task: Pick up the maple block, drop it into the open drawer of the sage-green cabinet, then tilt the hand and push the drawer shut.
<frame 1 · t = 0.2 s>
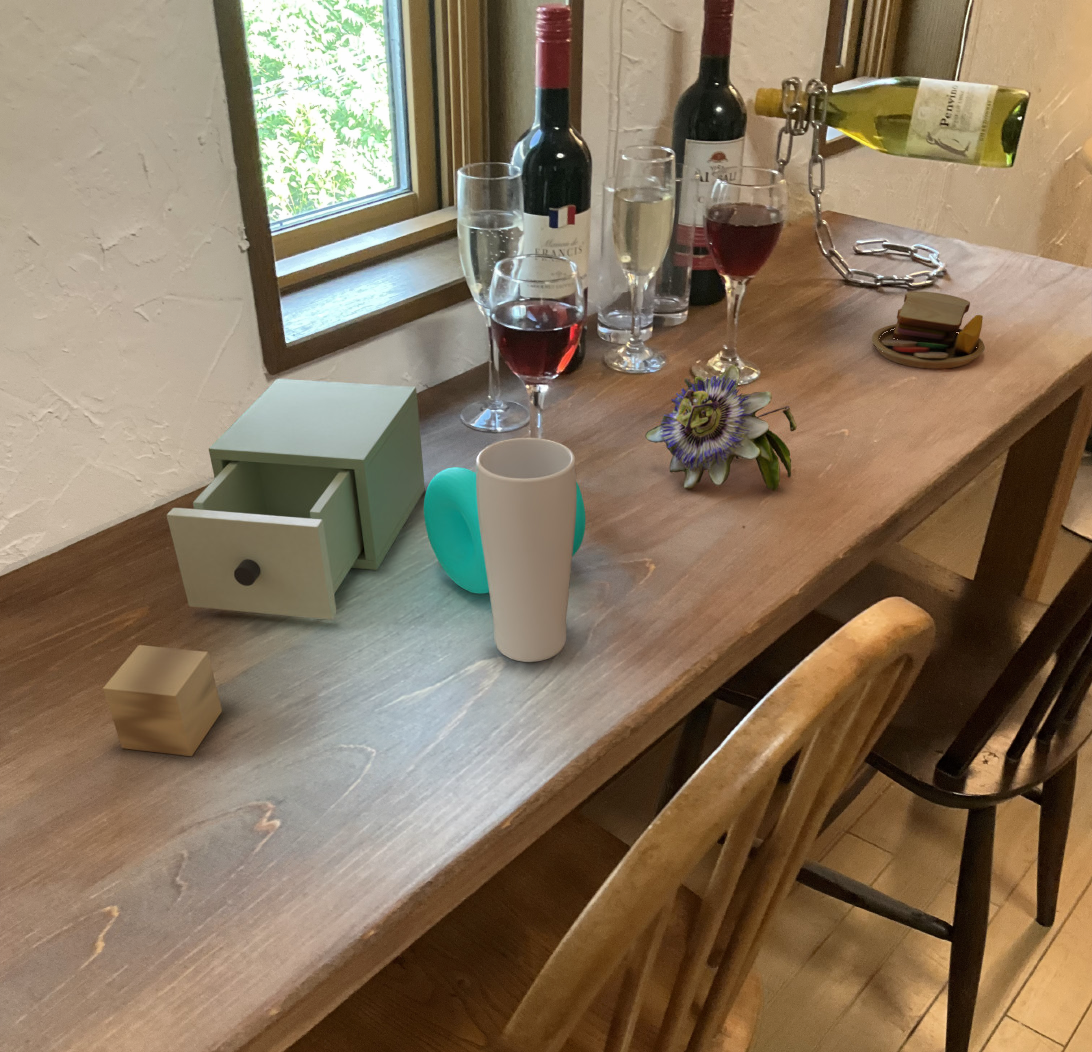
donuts: (506, 574, 92), on the table
block: (173, 729, 77), on the table
drawer: (280, 528, 89), point 5 cm above the table, slide at 8.0 cm
toy sandwich meal: (922, 351, 131), on the table
passion flower: (719, 475, 106), on the table
drinking glass: (530, 647, 84), on the table
cabinet: (332, 522, 100), on the table
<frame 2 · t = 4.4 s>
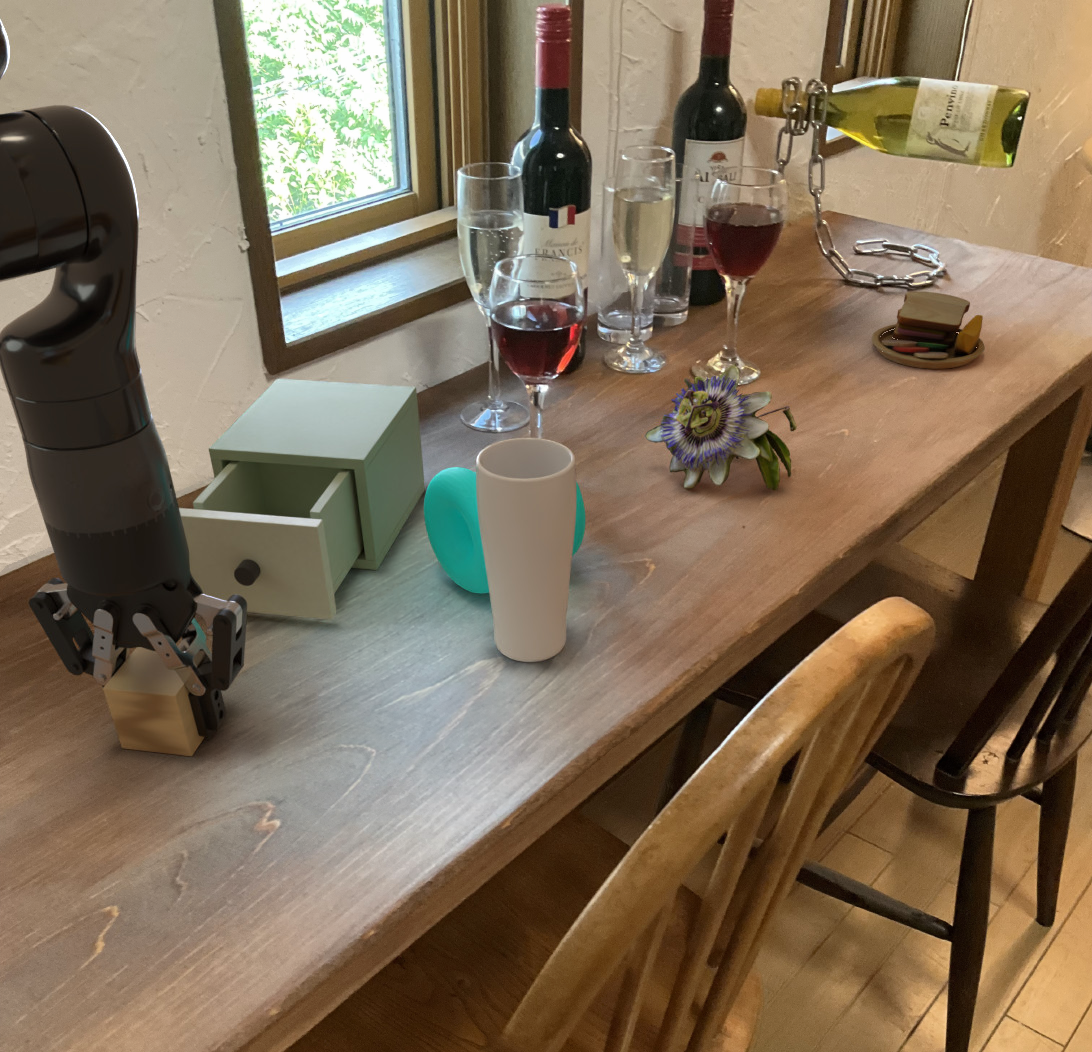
hand: (171, 724, 76), 0 cm above the table, tool pointing down, fingers closed on block, 5 cm apart
block: (173, 729, 77), on the table, touching gripper
everything else where it was.
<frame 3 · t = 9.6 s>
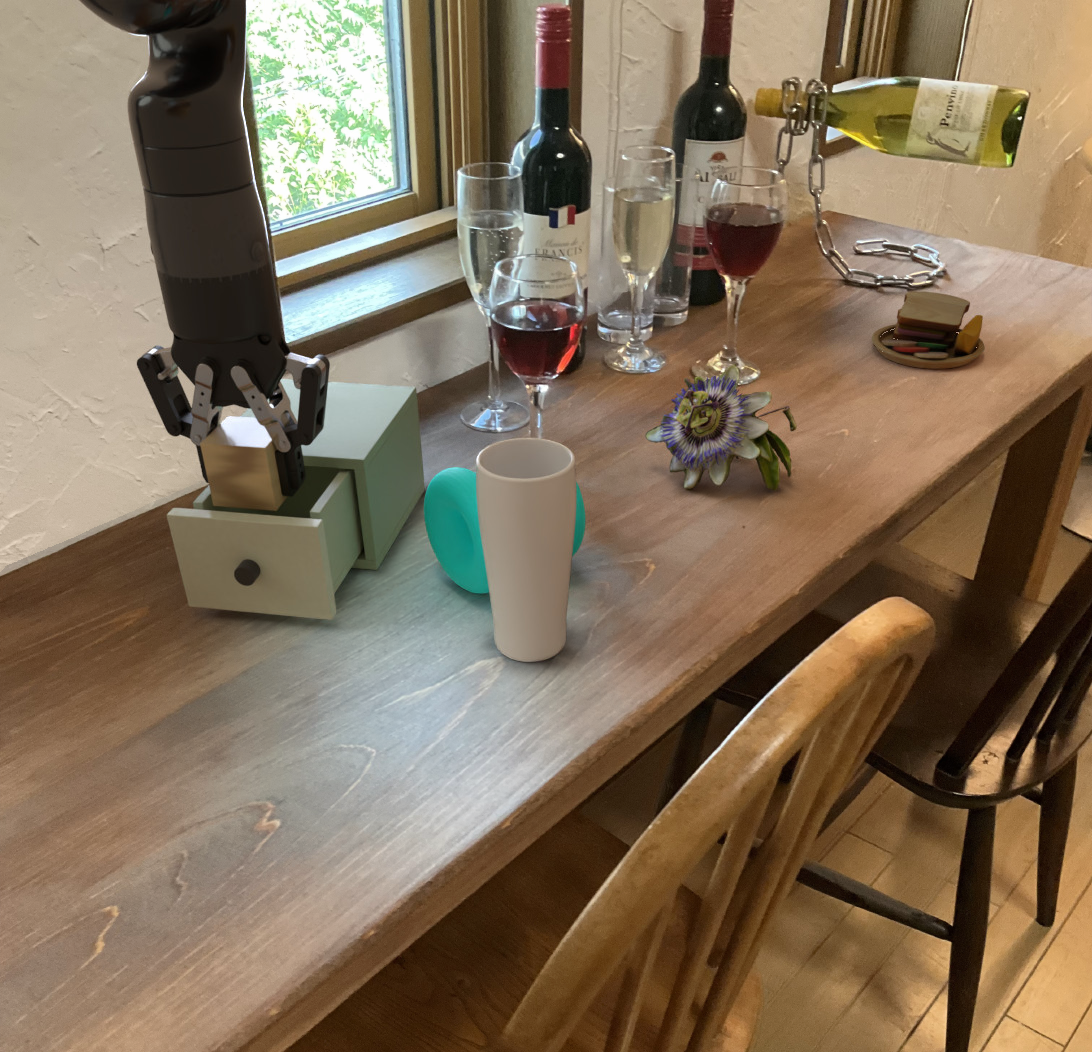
hand: (256, 488, 86), 9 cm above the table, tool pointing down, fingers closed on block, 5 cm apart
block: (257, 493, 86), point 8 cm above the table, touching gripper
everything else where it was.
when the fingers open (11 cm above the table, at t = 23.1 s): block drops 8 cm, resting on drawer.
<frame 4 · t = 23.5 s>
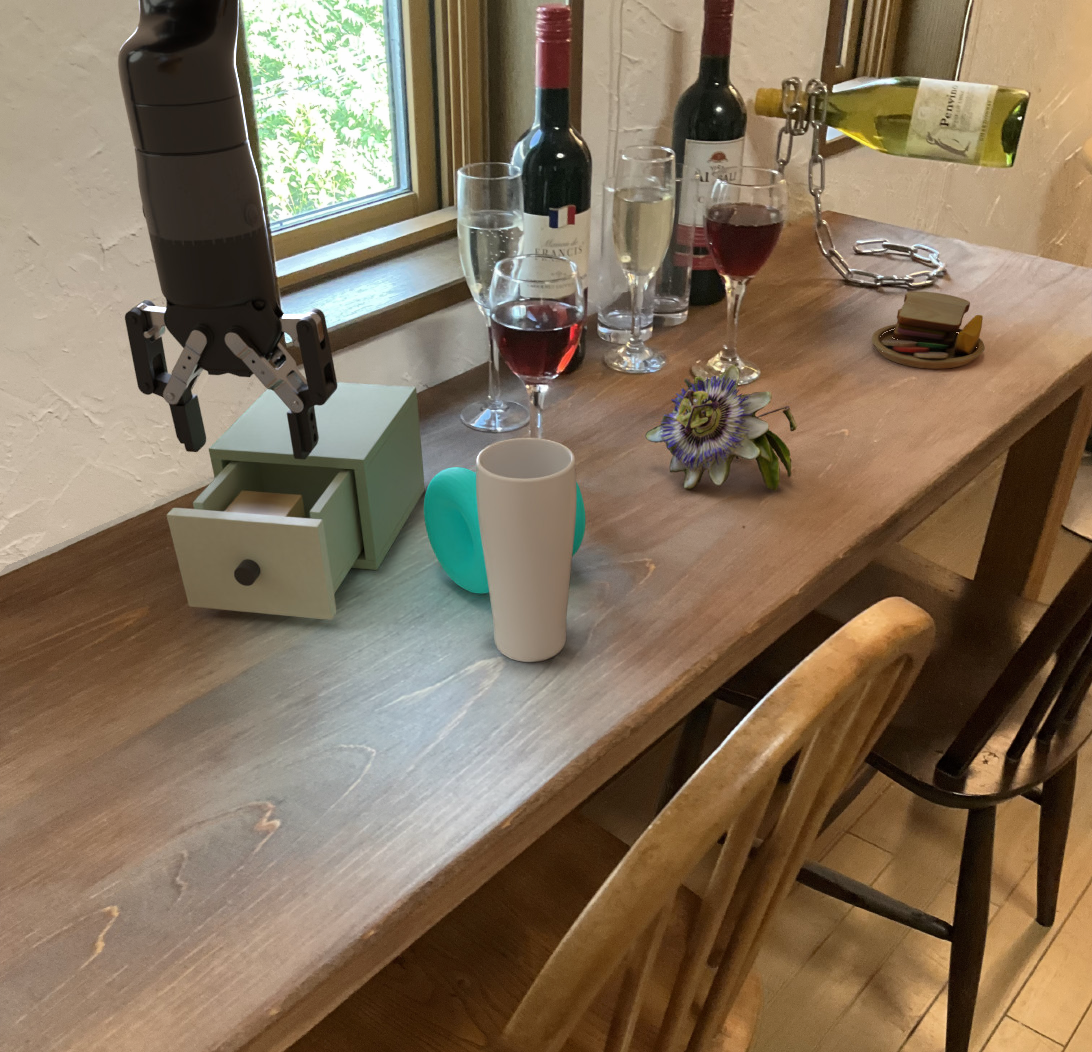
hand: (249, 451, 84), 12 cm above the table, tool pointing down, fingers open, 8 cm apart
block: (270, 564, 90), point 2 cm above the table, touching drawer
drawer: (280, 528, 89), point 5 cm above the table, slide at 8.0 cm, touching block
everything else where it was.
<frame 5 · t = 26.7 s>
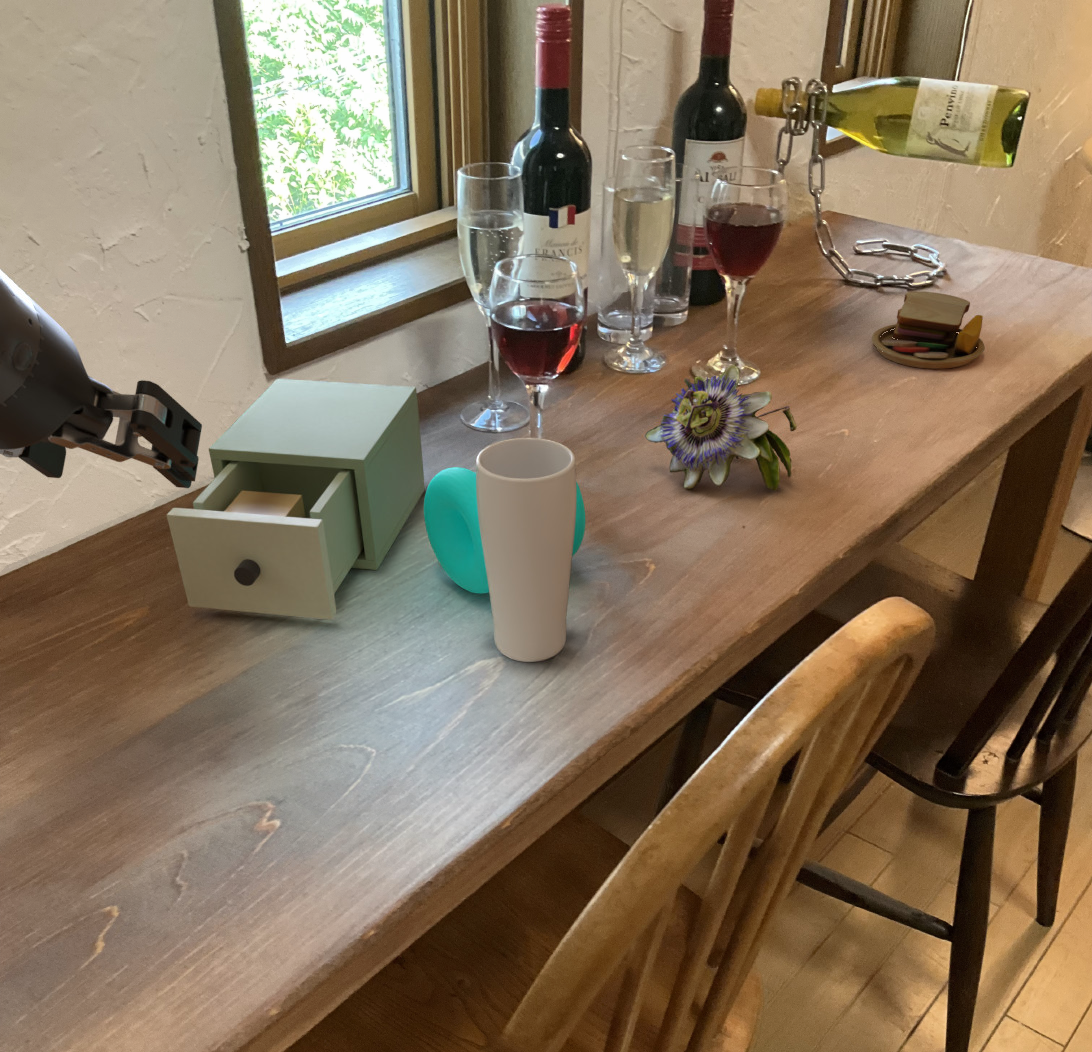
hand: (122, 468, 70), 17 cm above the table, tool tilted 45°, fingers open, 8 cm apart
nothing on the table moved.
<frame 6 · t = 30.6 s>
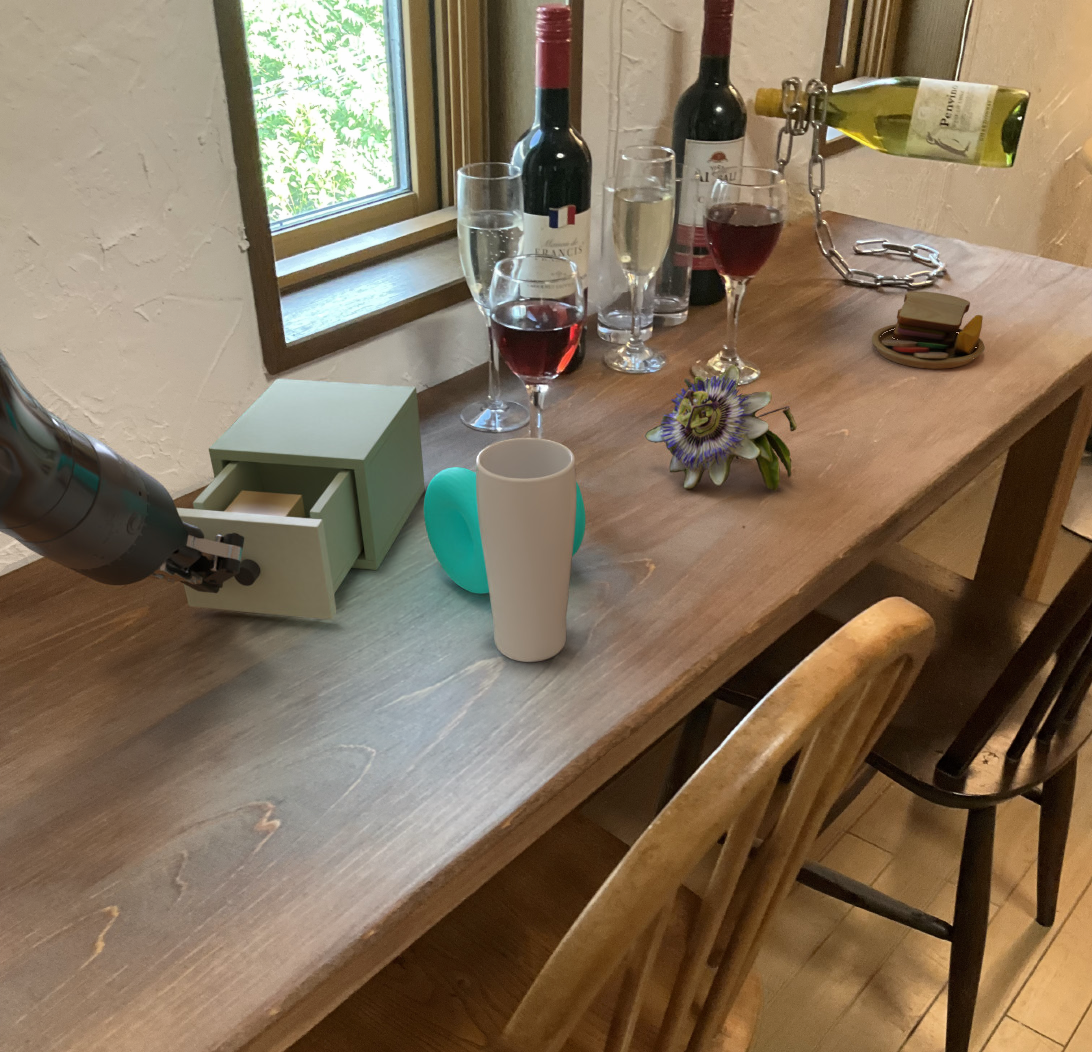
hand: (211, 579, 84), 4 cm above the table, tool tilted 45°, fingers closed
drawer: (280, 528, 89), point 5 cm above the table, slide at 8.0 cm, touching block, gripper
everything else where it was.
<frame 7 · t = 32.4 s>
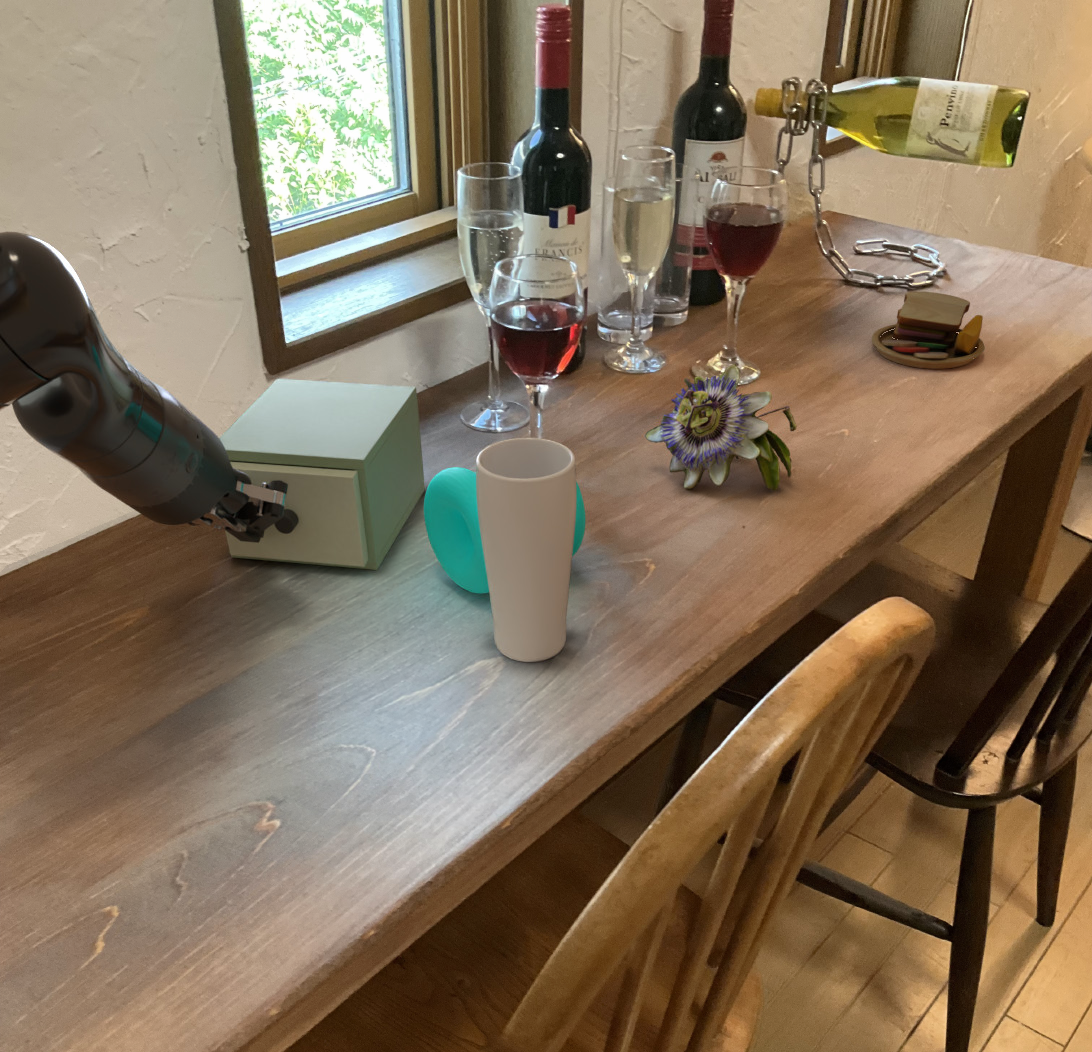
hand: (253, 530, 91), 4 cm above the table, tool tilted 45°, fingers closed
block: (305, 516, 96), point 2 cm above the table, touching drawer
drawer: (315, 483, 95), point 5 cm above the table, slide at 0.0 cm, touching block, cabinet, gripper
everything else where it was.
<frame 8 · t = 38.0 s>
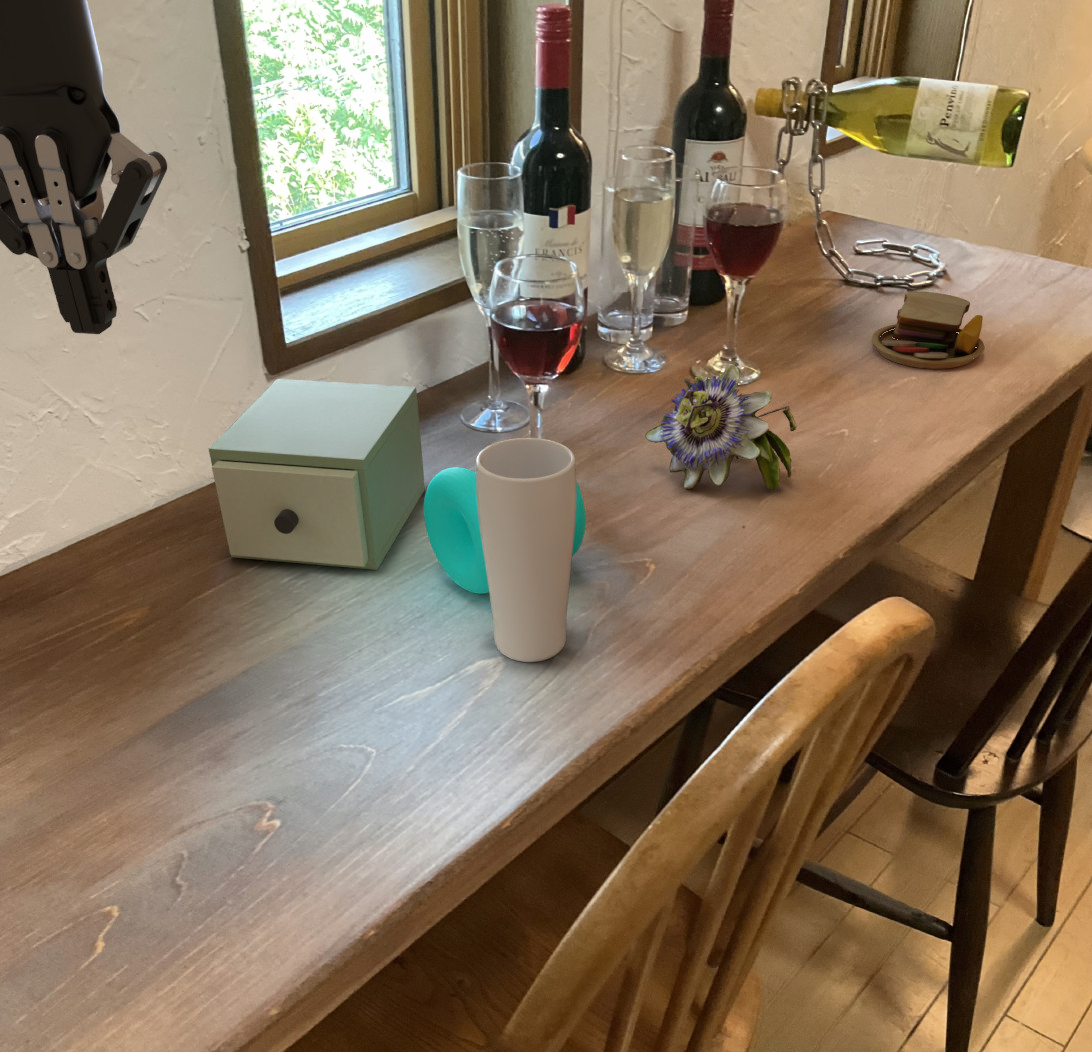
hand: (93, 329, 66), 25 cm above the table, tool pointing down, fingers closed
drawer: (315, 483, 95), point 5 cm above the table, slide at 0.0 cm, touching block
everything else where it was.
at the end: block inside the target area in the cabinet (3.4 cm from its centre), point 2.1 cm above the cabinet's base; drawer slide at 0.0 cm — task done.
